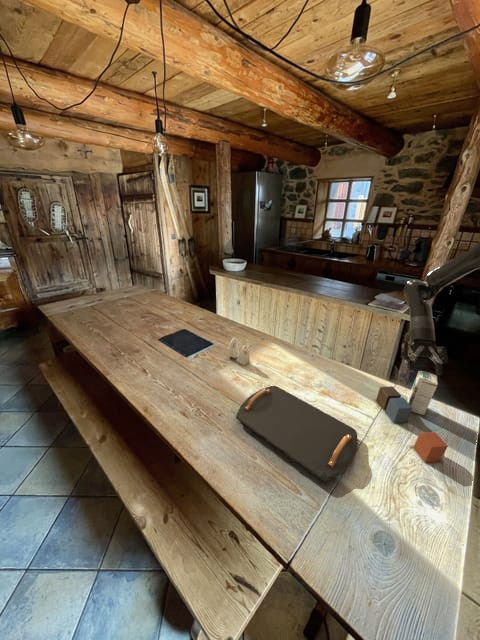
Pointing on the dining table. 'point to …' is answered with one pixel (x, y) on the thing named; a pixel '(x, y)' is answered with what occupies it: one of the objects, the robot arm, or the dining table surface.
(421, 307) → the robot arm
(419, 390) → the syrup box
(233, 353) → the shaker set
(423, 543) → the dining table surface
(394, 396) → the walnut block
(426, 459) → the terracotta block
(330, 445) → the serving tray
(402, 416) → the slate blue block
